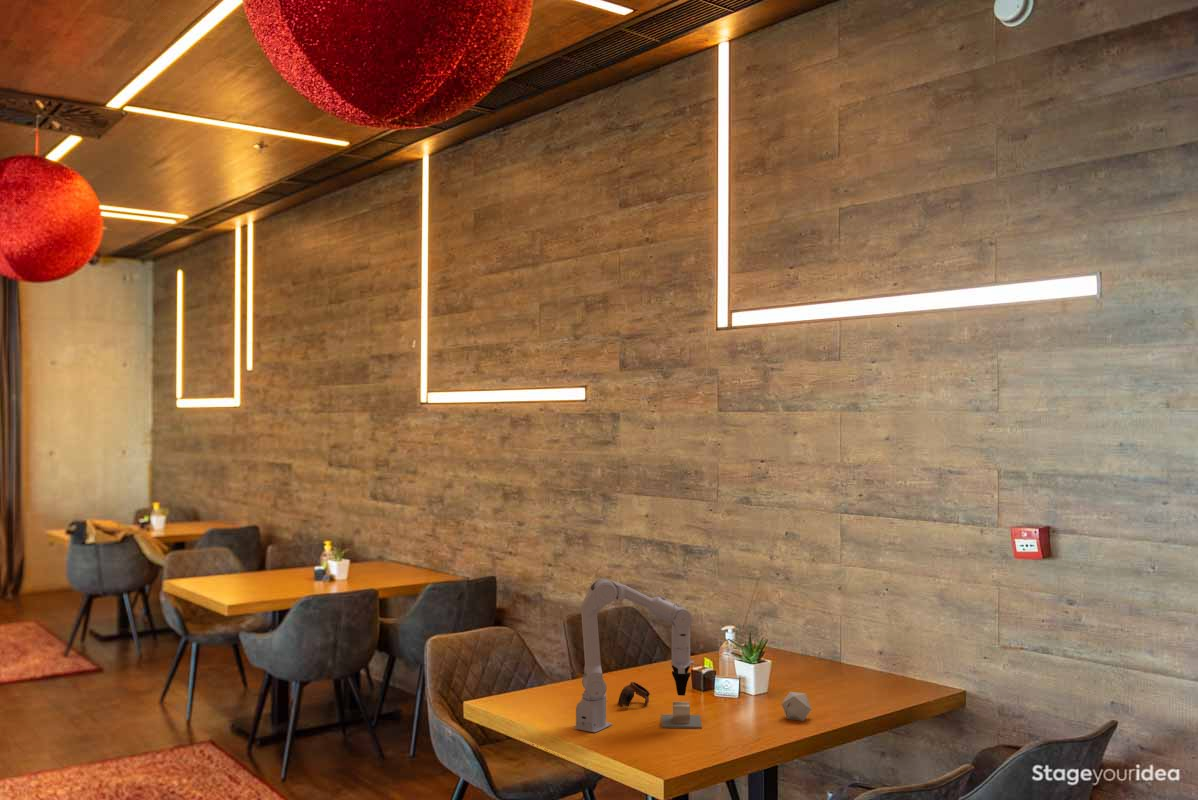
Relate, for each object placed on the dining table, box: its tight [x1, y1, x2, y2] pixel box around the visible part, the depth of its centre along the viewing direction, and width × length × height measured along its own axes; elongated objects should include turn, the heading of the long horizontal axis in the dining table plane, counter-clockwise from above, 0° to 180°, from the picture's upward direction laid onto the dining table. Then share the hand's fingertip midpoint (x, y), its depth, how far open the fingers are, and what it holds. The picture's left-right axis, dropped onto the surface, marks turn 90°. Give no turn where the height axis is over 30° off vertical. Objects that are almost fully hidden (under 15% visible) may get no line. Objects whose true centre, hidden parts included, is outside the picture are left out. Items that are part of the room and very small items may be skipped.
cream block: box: [672, 701, 691, 723], centre depth 303 cm, size 5×5×5 cm
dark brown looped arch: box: [617, 681, 651, 708], centre depth 321 cm, size 12×10×8 cm
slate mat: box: [661, 714, 703, 730], centre depth 303 cm, size 12×12×1 cm
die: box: [781, 691, 813, 722], centre depth 307 cm, size 8×9×10 cm
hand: (681, 691), depth 303 cm, fingers open, 7 cm apart
